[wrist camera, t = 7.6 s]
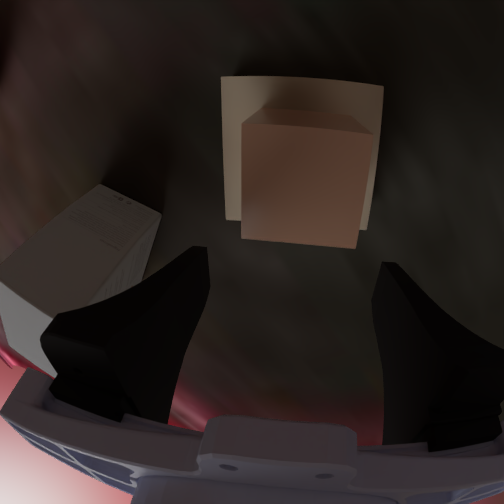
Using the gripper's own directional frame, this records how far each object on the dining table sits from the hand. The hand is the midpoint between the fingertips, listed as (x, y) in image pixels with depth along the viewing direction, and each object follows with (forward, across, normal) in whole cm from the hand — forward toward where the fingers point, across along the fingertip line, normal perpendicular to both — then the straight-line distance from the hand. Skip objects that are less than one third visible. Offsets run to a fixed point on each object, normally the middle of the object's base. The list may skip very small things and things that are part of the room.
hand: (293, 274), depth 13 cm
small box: (+11, +15, +5) cm, 19 cm away
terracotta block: (+7, 0, -3) cm, 8 cm away
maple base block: (+11, 0, -3) cm, 11 cm away
